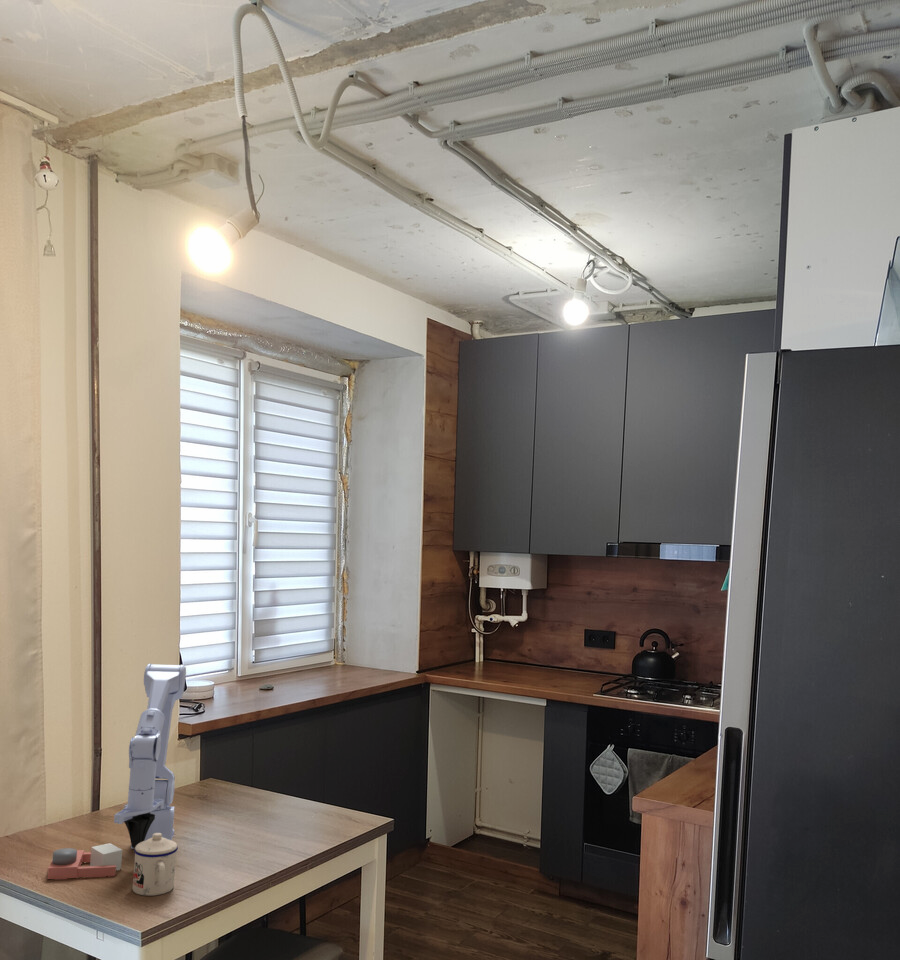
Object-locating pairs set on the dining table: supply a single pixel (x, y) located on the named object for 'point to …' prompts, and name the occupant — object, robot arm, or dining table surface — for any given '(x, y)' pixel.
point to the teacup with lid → (154, 866)
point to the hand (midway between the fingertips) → (136, 847)
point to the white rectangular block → (106, 855)
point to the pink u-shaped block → (76, 865)
